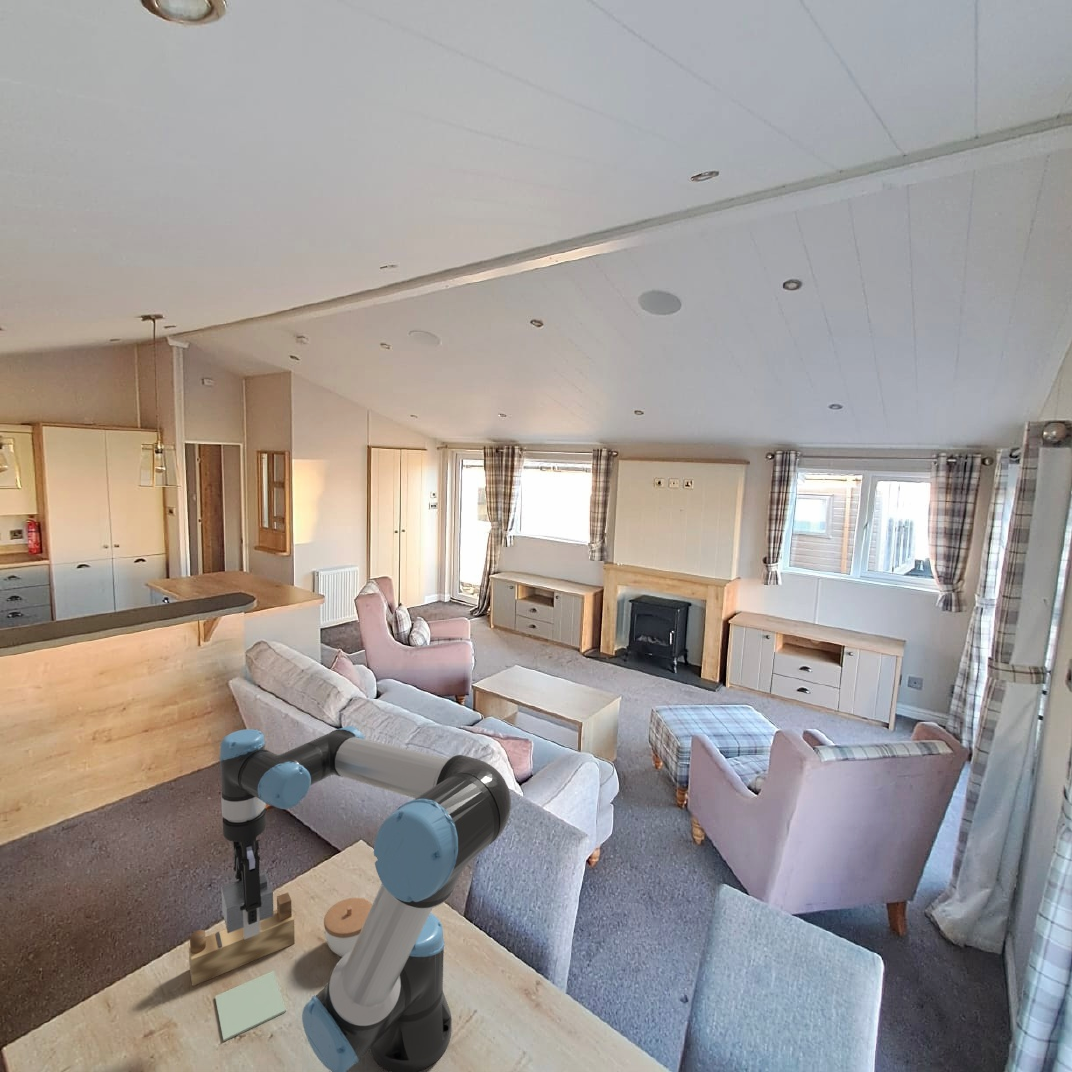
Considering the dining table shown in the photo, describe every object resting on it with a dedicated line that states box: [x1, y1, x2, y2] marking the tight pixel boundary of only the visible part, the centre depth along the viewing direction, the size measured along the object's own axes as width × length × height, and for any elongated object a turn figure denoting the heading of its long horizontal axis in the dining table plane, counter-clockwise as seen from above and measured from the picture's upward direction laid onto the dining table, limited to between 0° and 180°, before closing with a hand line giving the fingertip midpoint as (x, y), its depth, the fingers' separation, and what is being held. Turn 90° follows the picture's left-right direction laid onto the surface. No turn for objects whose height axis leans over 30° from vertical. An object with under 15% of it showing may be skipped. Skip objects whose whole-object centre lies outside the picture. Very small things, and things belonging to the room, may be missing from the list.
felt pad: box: [214, 970, 287, 1042], centre depth 118 cm, size 11×11×1 cm
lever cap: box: [220, 871, 274, 933], centre depth 115 cm, size 7×8×6 cm
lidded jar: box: [323, 897, 373, 958], centre depth 132 cm, size 11×11×9 cm
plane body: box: [188, 892, 296, 987], centre depth 129 cm, size 20×5×10 cm, turn 125°
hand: (248, 922), depth 116 cm, fingers closed on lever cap, 7 cm apart
